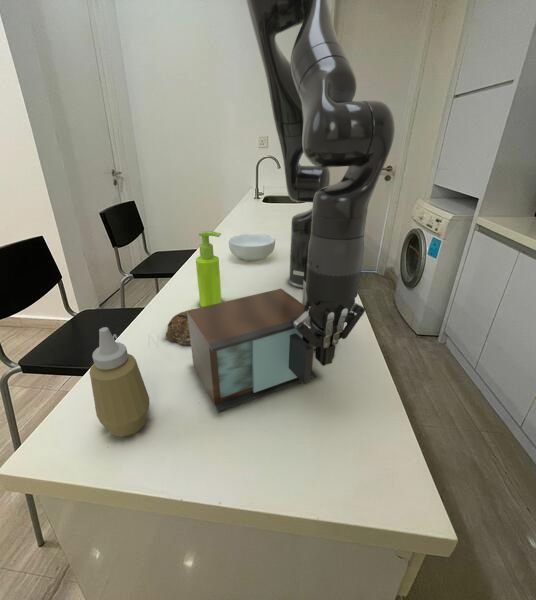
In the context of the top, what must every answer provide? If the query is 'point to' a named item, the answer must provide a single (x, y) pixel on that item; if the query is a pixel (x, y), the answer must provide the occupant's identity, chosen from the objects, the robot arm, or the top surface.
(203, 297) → the soap dispenser
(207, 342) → the display cabinet
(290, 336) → the glass door
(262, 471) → the top surface
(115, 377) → the squeeze bottle
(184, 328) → the bread roll
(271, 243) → the cereal bowl
